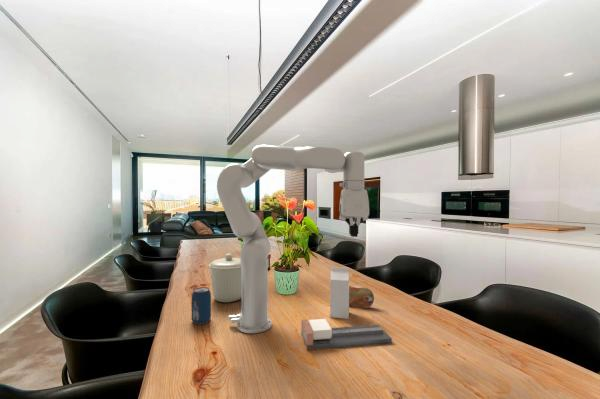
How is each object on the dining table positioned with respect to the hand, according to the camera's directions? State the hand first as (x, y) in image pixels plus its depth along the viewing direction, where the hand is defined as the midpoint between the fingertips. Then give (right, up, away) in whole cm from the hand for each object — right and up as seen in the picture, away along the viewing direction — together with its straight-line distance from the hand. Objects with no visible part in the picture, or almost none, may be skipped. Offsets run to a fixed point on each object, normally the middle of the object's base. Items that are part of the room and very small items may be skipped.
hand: (353, 236), depth 101 cm
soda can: (-57, -33, +4) cm, 66 cm away
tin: (+5, -34, +20) cm, 39 cm away
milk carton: (-3, -33, +11) cm, 35 cm away
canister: (-53, -33, +28) cm, 69 cm away
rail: (-4, -33, -8) cm, 34 cm away
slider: (-13, -31, -10) cm, 35 cm away
